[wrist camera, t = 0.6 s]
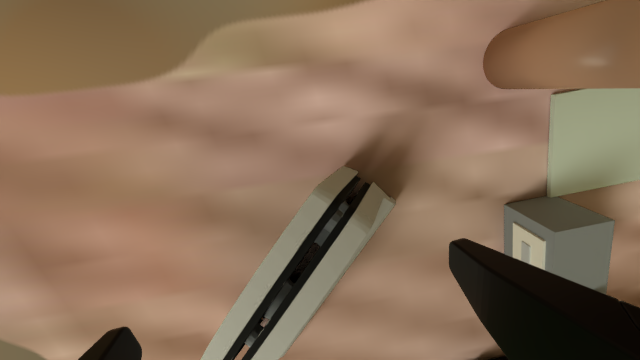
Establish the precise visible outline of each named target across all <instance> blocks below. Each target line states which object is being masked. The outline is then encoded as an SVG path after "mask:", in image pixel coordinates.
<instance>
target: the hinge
mask: <svg viewBox="0 0 640 360" xmlns="http://www.w3.org/2000/svg"><path fill="white" fill-rule="evenodd" d="M357 173H358V171H356V170H353V169H351V168H348V167H345V166H343V167H341V168H340V169H339V170H337V171H336V172H335V173H333V174H332V175H331V176H329V177H328V178H327V179H325V180H324V181H322V182H321V183H320V184H319V185H318V186H317V187H316V188H315V189H314V191H313V192H312V193H311V195H310V196H309V197H308V199H307V200H306V201H305V203H304V204H303V206H302V207H301V208H300V210H299V211H298V212H297V214H296V215H295V217H294V218H293V219H292V221H291V222H290V224H289V225H288V226H287V228H286V229H285V231H284V232H283V233H282V235H281V236H280V238H279V239H278V241H277V242H276V243H275V245H274V246H273V248H272V249H271V251H270V252H269V253H268V255H267V256H266V258H265V259H264V261H263V262H262V263H261V265H260V266H259V268H258V269H257V271H256V272H255V274H254V275H253V277H252V278H251V280H250V281H249V283H248V284H247V286H246V287H245V289H244V290H243V292H242V293H241V295H240V296H239V298H238V299H237V301H236V302H235V304H234V305H233V307H232V308H231V310H230V312H229V313H228V315H227V316H226V318H225V319H224V321H223V323H222V324H221V326H220V327H219V329H218V331H217V332H216V334H215V336H214V337H213V339H212V341H211V342H210V344H209V346H208V347H207V349H206V351H205V353H204V354H203V356H202V358H201V360H234V359H235V357H236V356H237V355H238V353H239V352H240V351H241V349H242V348H243V347H244V345H245V344H246V345H248V346H249V347H250V348H249V350H248V351H247V353H246V354H245V355H244V357H243V358H242V360H278V359H279V358H280V357H283V356H284V355H285V353H286V352H287V351H288V349H289V348H290V347H291V345H292V344H293V343H294V341H295V340H296V339H297V337H298V336H299V334H300V333H301V332H302V330H303V329H304V328H305V326H306V325H307V324H308V322H309V321H310V320H311V318H312V317H313V316H314V314H315V313H316V311H317V310H318V309H319V307H320V306H321V305H322V303H323V302H324V301H325V299H326V298H327V297H328V295H329V294H330V292H331V291H332V290H333V288H334V287H335V286H336V284H337V283H338V282H339V280H340V279H341V278H342V276H343V275H344V274H345V272H346V271H347V269H348V268H349V267H350V265H351V264H352V263H353V261H354V260H355V259H356V257H357V256H358V255H359V253H360V252H361V250H362V249H363V248H364V246H365V245H366V244H367V242H368V241H369V240H370V238H371V237H372V236H373V234H374V233H375V232H376V230H377V229H378V227H379V226H380V225H381V223H382V222H383V221H384V219H385V218H386V217H387V215H388V214H389V213H390V211H391V210H392V208H393V207H394V206H395V204H396V202H395V200H394V199H393V198H392V197H391V196H390V198H389V197H388V196H387V195H386V194H385V193H384V192H383V191H382V190H381V189H380V188H379V187H378V186H377V185H376V184H375V183H374V182H373V183H372V184H371V185H369V184H368V183H365V184H364V185H363V187H362V188H361V190H360V191H359V193H358V194H357V195H356V197H355V198H354V200H353V201H352V203H351V204H350V206H349V205H348V204H347V202H346V199H347V197H348V196H349V195H350V193H351V192H352V190H353V189H354V187H355V186H356V185H357V183H358V182H359V180H360V179H361V178H359V177H358V176H356V175H357ZM314 242H315V243H317V244H318V245H319V246H320V248H319V250H318V251H317V253H316V254H315V256H314V257H313V258H312V260H311V261H310V263H309V264H308V266H307V267H306V268H305V270H304V271H303V273H302V274H301V276H300V277H299V278H298V280H297V281H296V283H293V282H292V281H291V280H290V279H289V277H290V276H291V274H292V273H293V272H294V270H295V269H296V267H297V266H298V264H299V263H300V261H301V260H302V259H303V257H304V256H305V254H306V253H307V251H308V250H309V248H310V247H311V246H312V244H313V243H314ZM262 316H263V317H265V318H267V319H269V321H268V323H267V324H266V326H265V327H263V326H261V325H260V323H261V321H262V320H261V318H262Z"/></svg>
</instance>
